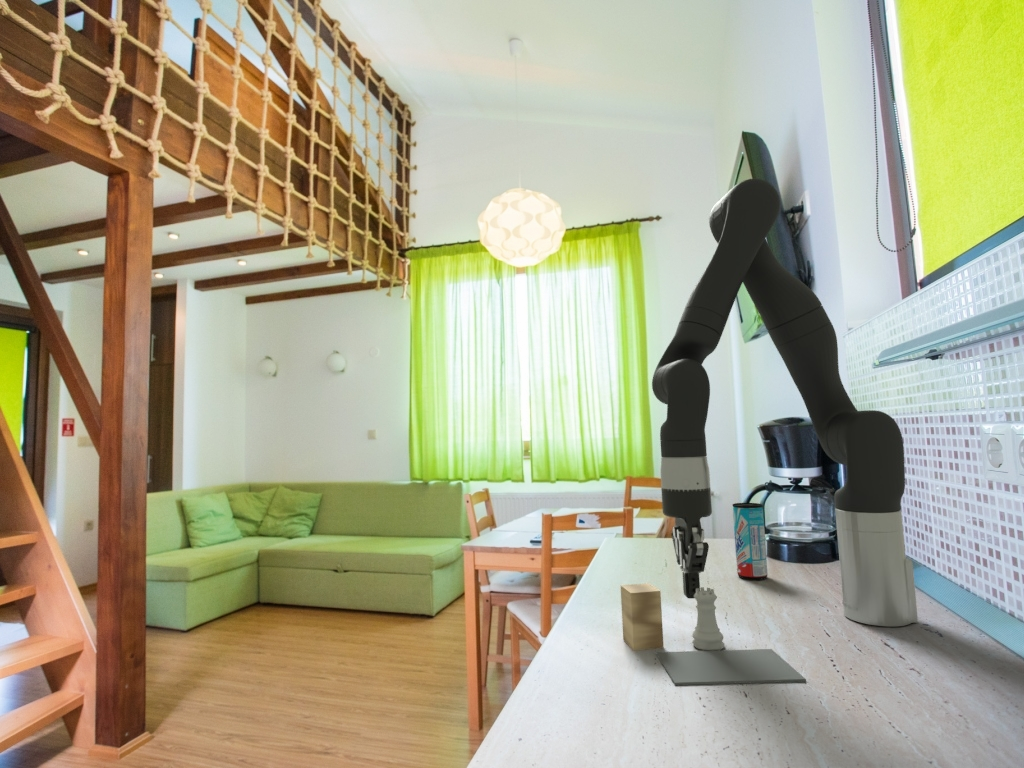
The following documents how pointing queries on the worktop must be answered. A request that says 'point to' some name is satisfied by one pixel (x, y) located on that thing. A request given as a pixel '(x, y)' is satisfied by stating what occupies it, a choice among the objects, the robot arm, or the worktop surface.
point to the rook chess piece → (706, 622)
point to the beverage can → (750, 541)
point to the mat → (727, 667)
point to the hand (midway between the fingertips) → (692, 596)
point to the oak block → (642, 616)
